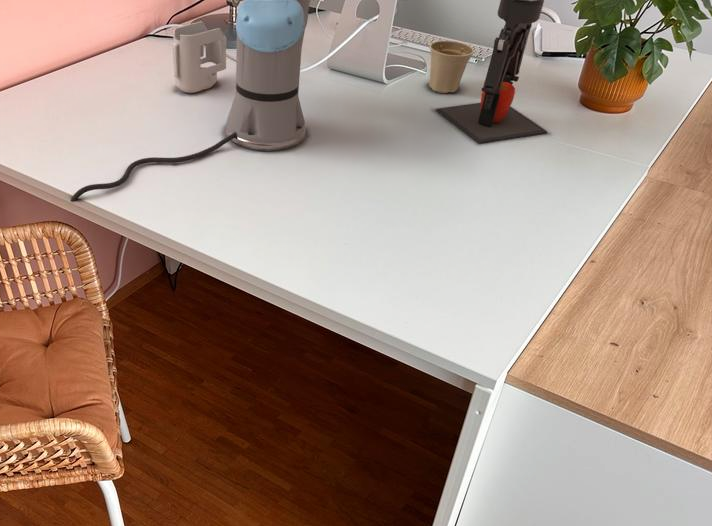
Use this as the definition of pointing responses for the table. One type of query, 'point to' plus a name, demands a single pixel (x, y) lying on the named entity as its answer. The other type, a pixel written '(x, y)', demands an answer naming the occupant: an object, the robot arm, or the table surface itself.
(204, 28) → the grey boxy plastic piece
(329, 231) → the table surface
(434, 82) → the flower pot
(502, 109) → the red bell pepper
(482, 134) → the place mat
